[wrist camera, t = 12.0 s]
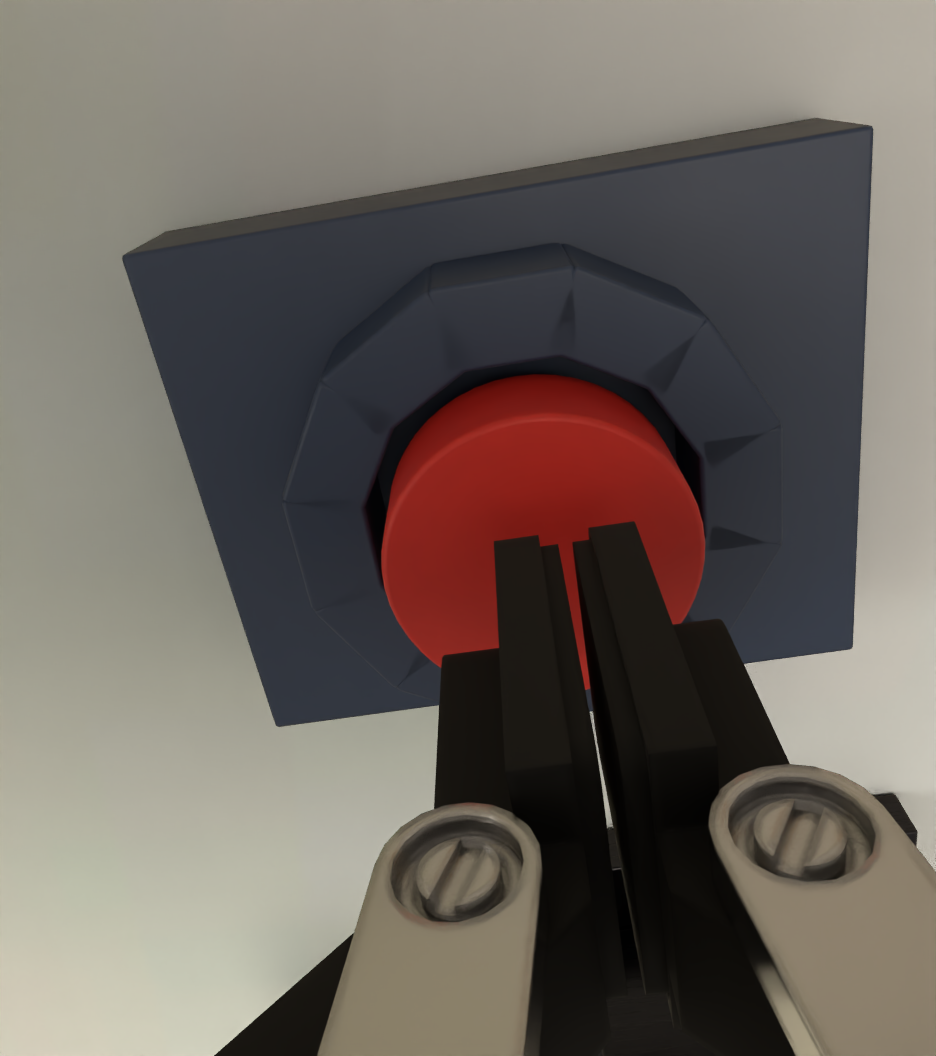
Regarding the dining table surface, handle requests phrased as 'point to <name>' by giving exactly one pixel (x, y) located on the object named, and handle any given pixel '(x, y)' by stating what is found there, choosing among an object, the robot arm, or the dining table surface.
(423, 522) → the button
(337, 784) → the dining table surface
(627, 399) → the button housing
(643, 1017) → the lever bracket
